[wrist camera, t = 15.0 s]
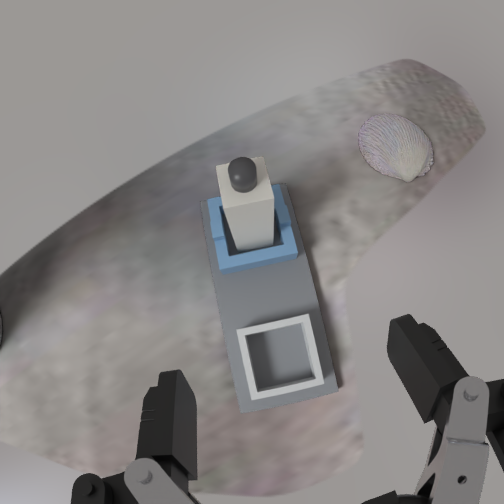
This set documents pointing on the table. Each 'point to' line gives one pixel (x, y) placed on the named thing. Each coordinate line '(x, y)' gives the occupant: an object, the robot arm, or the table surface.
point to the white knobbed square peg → (247, 202)
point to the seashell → (395, 147)
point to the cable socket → (269, 311)
